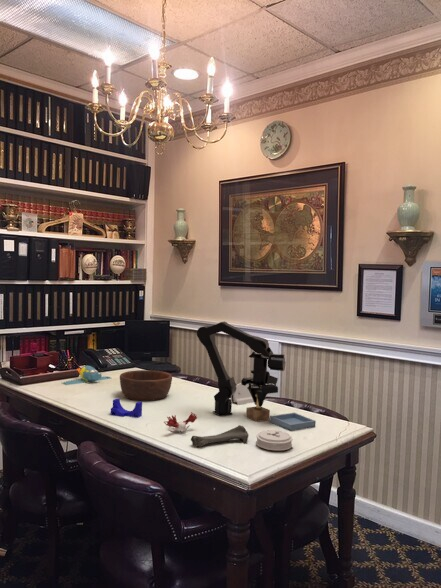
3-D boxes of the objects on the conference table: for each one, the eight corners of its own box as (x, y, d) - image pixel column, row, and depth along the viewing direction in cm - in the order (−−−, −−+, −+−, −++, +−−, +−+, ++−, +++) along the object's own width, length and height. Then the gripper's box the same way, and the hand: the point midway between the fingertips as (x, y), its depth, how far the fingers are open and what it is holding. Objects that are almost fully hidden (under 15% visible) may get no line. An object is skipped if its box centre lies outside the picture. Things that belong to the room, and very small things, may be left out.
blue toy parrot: (103, 361, 280) (119, 366, 270) (102, 376, 281) (118, 381, 270) (57, 366, 260) (72, 371, 249) (57, 382, 260) (72, 388, 250)
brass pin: (257, 418, 206) (258, 395, 206) (252, 416, 209) (253, 393, 209) (263, 417, 208) (264, 394, 208) (258, 415, 211) (259, 392, 211)
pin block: (255, 421, 204) (256, 412, 204) (246, 417, 210) (246, 407, 210) (269, 419, 208) (269, 410, 208) (259, 415, 214) (259, 406, 214)
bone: (243, 438, 184) (243, 421, 184) (252, 443, 178) (252, 426, 178) (188, 445, 174) (189, 428, 174) (196, 451, 168) (196, 433, 168)
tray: (290, 431, 193) (290, 424, 193) (270, 422, 204) (270, 416, 204) (315, 426, 200) (315, 420, 200) (294, 418, 211) (294, 412, 211)
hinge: (237, 405, 229) (233, 383, 231) (231, 406, 232) (227, 384, 235) (263, 400, 239) (259, 379, 242) (257, 401, 243) (253, 381, 245)
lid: (282, 456, 167) (283, 441, 167) (249, 447, 174) (250, 433, 173) (297, 445, 178) (298, 432, 177) (266, 438, 184) (266, 425, 184)
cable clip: (110, 415, 205) (111, 401, 205) (116, 412, 209) (116, 398, 209) (136, 419, 201) (137, 404, 201) (141, 416, 206) (142, 401, 205)
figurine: (184, 424, 197) (185, 407, 197) (203, 431, 188) (204, 414, 188) (153, 430, 187) (153, 413, 187) (171, 439, 178) (172, 421, 178)
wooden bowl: (108, 398, 232) (109, 376, 231) (136, 387, 255) (137, 368, 255) (155, 405, 222) (156, 383, 222) (180, 394, 246) (181, 373, 245)
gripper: (289, 371, 204) (287, 408, 205) (262, 363, 220) (260, 398, 221) (267, 373, 198) (266, 411, 199) (241, 365, 214) (239, 400, 215)
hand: (258, 405), depth 209 cm, fingers closed on brass pin, 3 cm apart
